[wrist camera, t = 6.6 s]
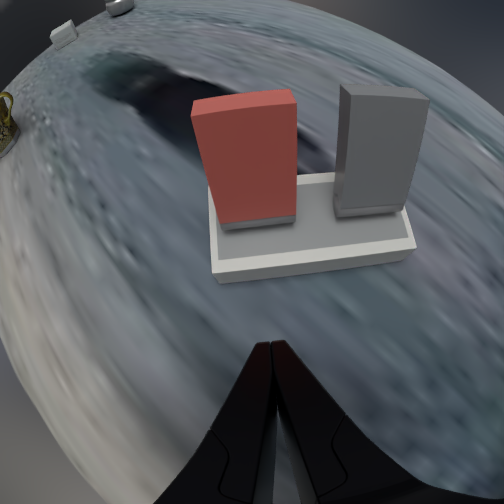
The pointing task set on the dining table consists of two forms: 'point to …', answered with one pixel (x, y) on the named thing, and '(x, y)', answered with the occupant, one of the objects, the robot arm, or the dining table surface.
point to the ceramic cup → (7, 125)
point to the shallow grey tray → (308, 239)
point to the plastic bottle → (118, 6)
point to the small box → (64, 35)
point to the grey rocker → (377, 147)
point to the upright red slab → (249, 156)
